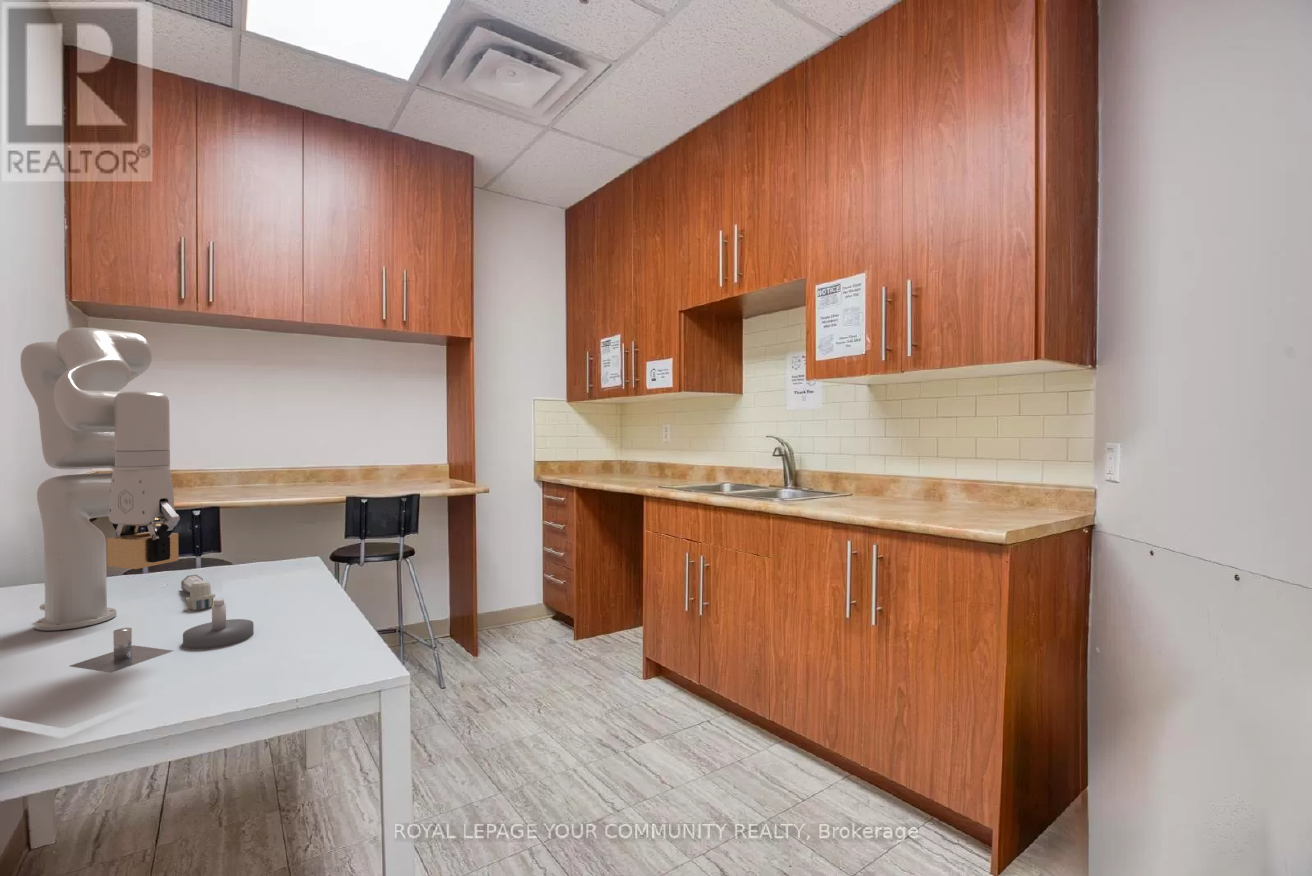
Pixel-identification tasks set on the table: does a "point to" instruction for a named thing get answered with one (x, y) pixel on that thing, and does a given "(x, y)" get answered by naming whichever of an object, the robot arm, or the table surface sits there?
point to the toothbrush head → (197, 592)
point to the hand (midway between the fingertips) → (144, 558)
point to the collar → (136, 551)
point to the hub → (218, 630)
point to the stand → (121, 654)
